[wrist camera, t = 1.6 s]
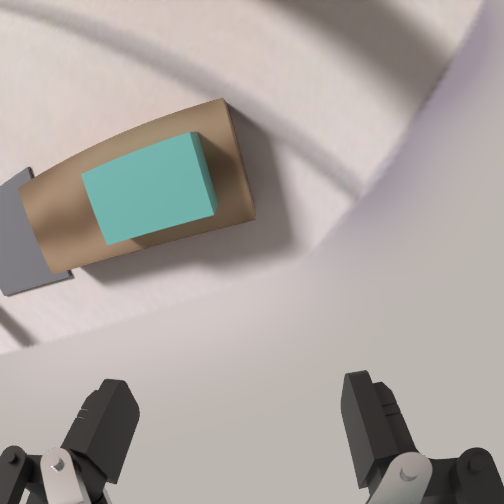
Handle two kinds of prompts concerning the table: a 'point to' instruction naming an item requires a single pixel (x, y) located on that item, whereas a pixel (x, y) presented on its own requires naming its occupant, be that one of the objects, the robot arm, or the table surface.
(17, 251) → the mat
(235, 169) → the brown flat block
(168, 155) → the teal rectangular block
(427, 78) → the table surface
